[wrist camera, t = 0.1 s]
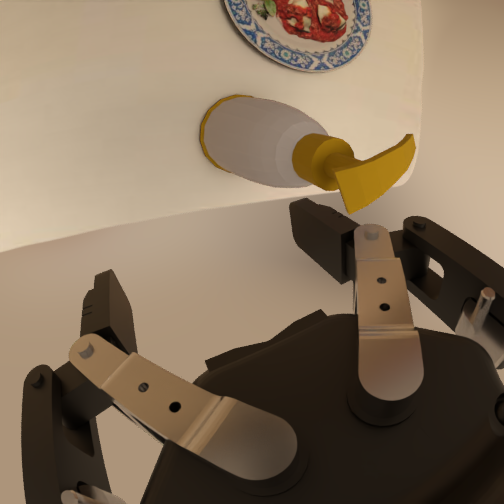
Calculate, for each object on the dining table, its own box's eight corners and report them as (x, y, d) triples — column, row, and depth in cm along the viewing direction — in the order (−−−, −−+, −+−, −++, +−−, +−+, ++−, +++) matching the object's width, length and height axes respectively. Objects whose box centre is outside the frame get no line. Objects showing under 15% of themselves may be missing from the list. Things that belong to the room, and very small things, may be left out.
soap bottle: (287, 145, 43) (432, 202, 22) (223, 186, 42) (333, 286, 21) (255, 80, 37) (407, 73, 15) (183, 121, 36) (271, 147, 15)
